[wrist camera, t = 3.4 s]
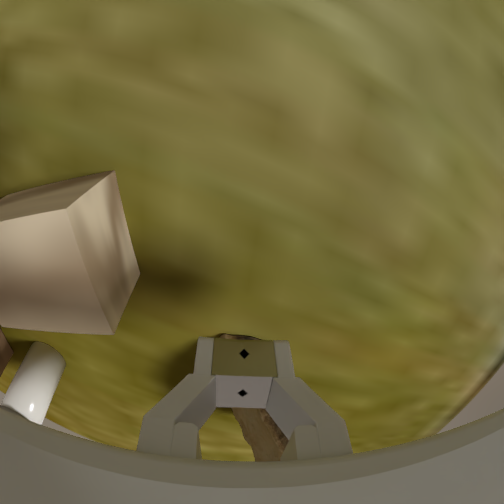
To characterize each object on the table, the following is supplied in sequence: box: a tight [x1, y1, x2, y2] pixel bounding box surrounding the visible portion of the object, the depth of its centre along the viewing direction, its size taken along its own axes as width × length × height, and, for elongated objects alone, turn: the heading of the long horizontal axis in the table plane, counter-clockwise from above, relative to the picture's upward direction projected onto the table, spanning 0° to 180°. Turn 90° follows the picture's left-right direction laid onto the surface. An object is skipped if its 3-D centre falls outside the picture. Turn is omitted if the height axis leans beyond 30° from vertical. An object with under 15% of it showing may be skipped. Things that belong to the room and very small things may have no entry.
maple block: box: [0, 170, 140, 335], centre depth 13 cm, size 6×8×5 cm
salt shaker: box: [0, 341, 66, 425], centre depth 17 cm, size 4×4×8 cm
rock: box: [220, 334, 289, 462], centre depth 19 cm, size 11×9×10 cm
